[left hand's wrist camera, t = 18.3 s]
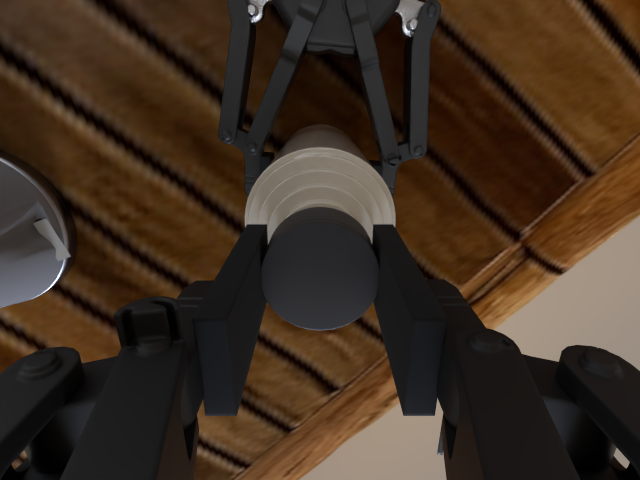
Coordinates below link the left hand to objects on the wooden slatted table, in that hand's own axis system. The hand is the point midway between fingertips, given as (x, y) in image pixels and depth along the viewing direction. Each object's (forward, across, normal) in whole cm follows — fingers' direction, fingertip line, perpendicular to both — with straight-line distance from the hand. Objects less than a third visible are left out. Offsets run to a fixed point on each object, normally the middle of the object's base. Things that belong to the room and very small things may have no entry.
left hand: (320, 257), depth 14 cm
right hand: (+15, 0, -5) cm, 16 cm away
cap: (-2, 0, 0) cm, 2 cm away
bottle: (+21, 0, 0) cm, 21 cm away
